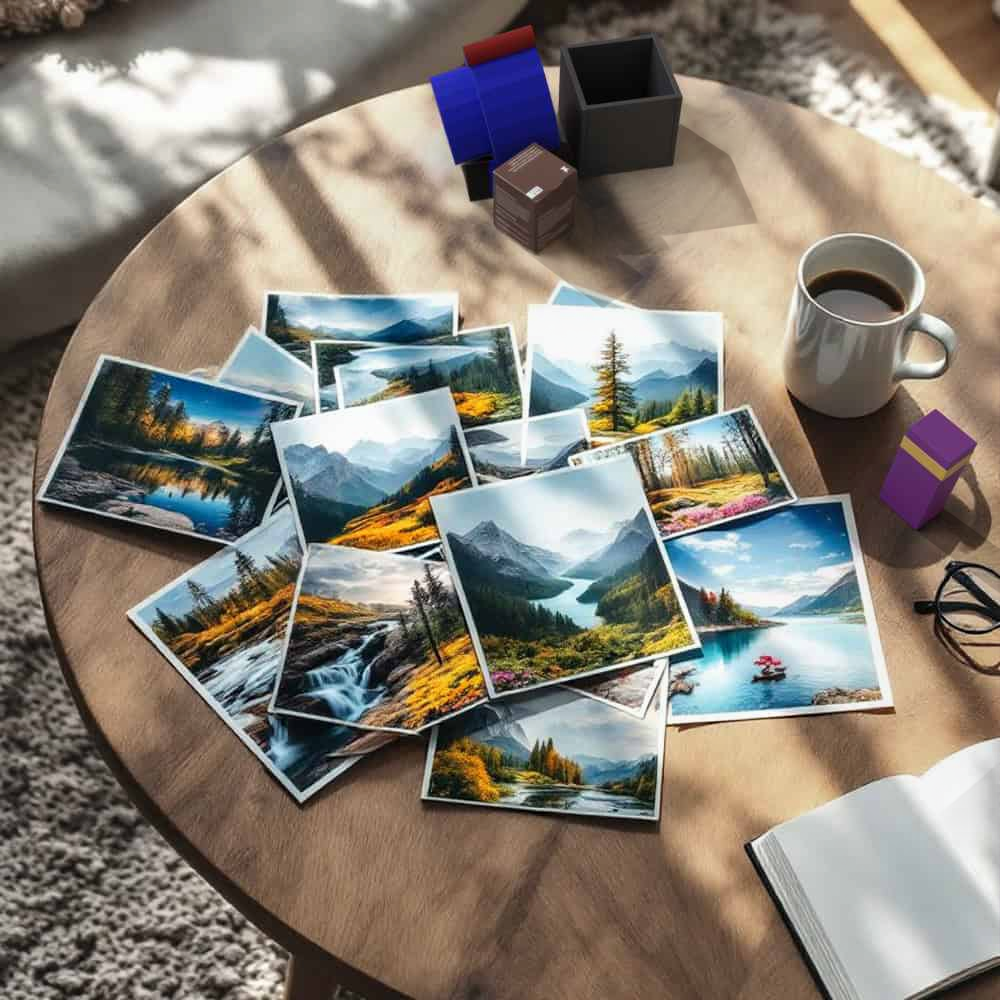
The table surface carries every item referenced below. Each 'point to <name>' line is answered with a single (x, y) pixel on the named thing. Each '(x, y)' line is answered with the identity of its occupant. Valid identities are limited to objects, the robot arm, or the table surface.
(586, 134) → the bin
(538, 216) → the box
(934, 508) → the perfume bottle
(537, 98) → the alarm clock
